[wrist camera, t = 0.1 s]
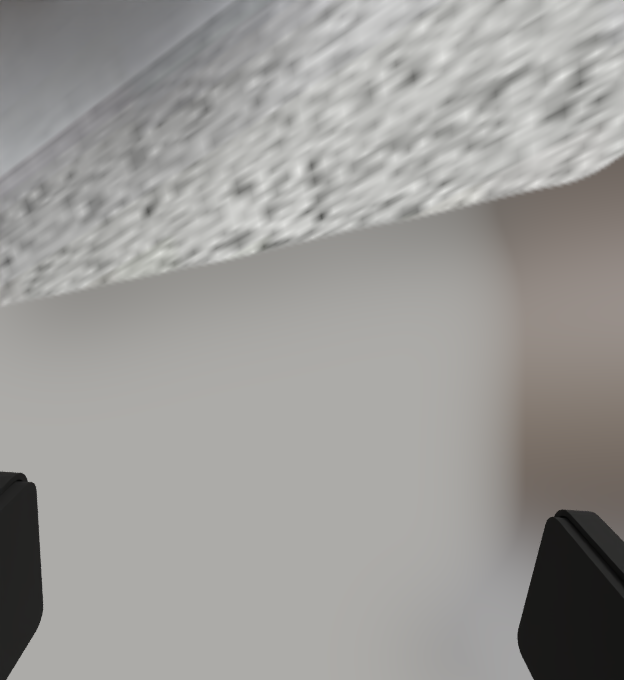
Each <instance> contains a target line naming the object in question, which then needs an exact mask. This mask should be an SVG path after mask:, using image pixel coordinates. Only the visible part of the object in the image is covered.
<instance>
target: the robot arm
mask: <svg viewBox="0 0 624 680" xmlns="http://www.w3.org/2000/svg"><path fill="white" fill-rule="evenodd" d="M42 612H43V594H42V578H41V559H40V542H39V525H38V509H37V491H36V486H35V484H34V483H32V482H28V481H27V478H26V476H25V475H24V474H22V473H13V472H0V680H6V679H7V677H8V676H9V674H10V673H11V671H12V669H13V668H14V666H15V664H16V663H17V661H18V659H19V658H20V656H21V655H22V653H23V651H24V650H25V648H26V647H27V645H28V643H29V642H30V640H31V638H32V637H33V635H34V633H35V632H36V630H37V628H38V626H39V623H40V621H41V617H42ZM518 646H519V649H520V652H521V655H522V657H523V659H524V661H525V663H526V665H527V667H528V669H529V671H530V673H531V675H532V677H533V679H534V680H624V542H623V541H622V540H621V539H620V538H619V536H618V535H617V534H615V532H613V530H612V529H611V528H610V527H609V526H608V525H607V524H606V523H605V522H604V521H603V520H602V519H601V518H600V517H599V516H598V515H596V514H595V513H593V512H589V511H574V510H559V511H558V512H557V513H556V514H555V516H554V517H551V518H549V519H548V520H547V522H546V525H545V529H544V533H543V536H542V540H541V544H540V548H539V552H538V556H537V559H536V563H535V567H534V571H533V575H532V579H531V582H530V586H529V590H528V594H527V598H526V602H525V605H524V610H523V614H522V617H521V621H520V625H519V629H518Z"/></svg>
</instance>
